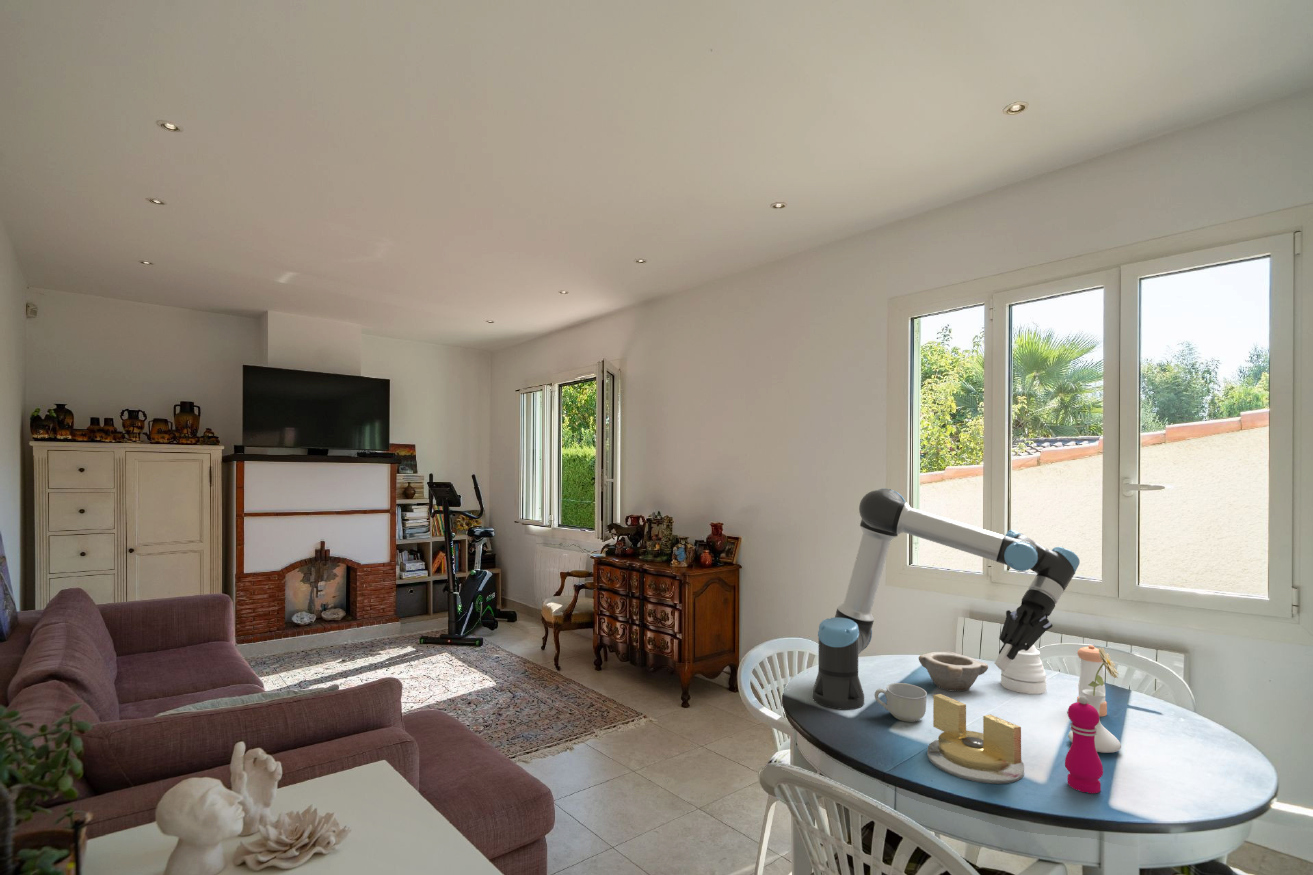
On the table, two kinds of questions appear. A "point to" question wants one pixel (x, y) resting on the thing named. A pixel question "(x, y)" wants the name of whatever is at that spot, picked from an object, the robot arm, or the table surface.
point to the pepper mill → (1083, 748)
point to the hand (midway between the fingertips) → (999, 666)
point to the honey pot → (1025, 673)
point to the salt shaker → (1091, 674)
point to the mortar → (952, 670)
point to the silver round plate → (974, 769)
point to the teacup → (904, 701)
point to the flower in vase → (1104, 738)
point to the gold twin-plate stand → (975, 737)
